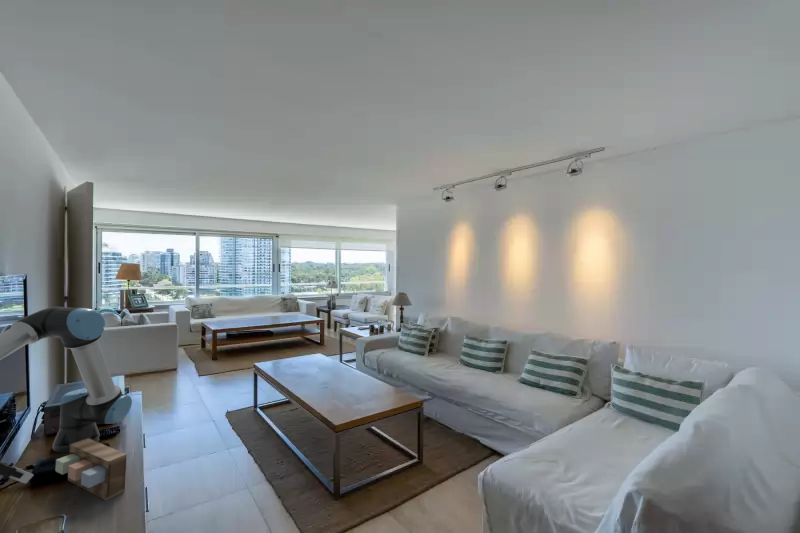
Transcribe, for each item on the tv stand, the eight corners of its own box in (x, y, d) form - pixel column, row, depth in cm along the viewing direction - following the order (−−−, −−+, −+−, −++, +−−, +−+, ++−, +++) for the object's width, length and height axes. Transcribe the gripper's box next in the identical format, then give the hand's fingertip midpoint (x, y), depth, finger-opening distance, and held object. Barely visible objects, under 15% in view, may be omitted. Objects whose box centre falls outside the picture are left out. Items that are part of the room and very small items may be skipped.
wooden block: (67, 480, 130) (69, 444, 130) (85, 472, 135) (88, 438, 135) (106, 500, 121) (108, 461, 121) (124, 491, 126) (126, 454, 126)
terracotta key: (67, 477, 122) (68, 465, 122) (85, 470, 127) (86, 458, 127) (75, 481, 120) (75, 469, 120) (92, 473, 125) (93, 462, 125)
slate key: (80, 484, 119) (81, 472, 119) (98, 476, 124) (99, 464, 124) (88, 488, 117) (89, 475, 117) (106, 480, 122) (106, 468, 122)
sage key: (55, 471, 125) (56, 459, 126) (73, 464, 130) (73, 453, 130) (62, 474, 124) (63, 463, 124) (79, 467, 128) (80, 456, 128)
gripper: (-72, 457, 102) (7, 485, 117) (-53, 470, 97) (27, 497, 112) (-42, 431, 107) (30, 461, 122) (-23, 442, 102) (50, 471, 117)
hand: (28, 478), depth 117 cm, fingers closed
